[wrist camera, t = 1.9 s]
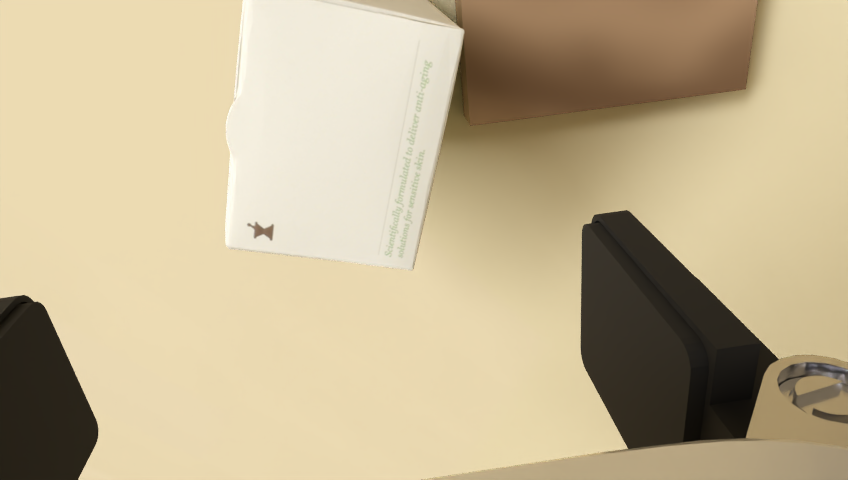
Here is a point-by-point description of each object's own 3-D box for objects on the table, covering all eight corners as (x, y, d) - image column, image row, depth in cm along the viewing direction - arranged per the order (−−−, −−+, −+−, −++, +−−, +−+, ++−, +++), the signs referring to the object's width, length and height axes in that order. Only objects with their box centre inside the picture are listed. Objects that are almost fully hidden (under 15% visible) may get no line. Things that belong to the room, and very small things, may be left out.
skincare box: (392, 142, 35) (418, 286, 21) (272, 122, 33) (215, 260, 20) (422, -16, 31) (479, 29, 17) (289, -46, 30) (235, -22, 16)
